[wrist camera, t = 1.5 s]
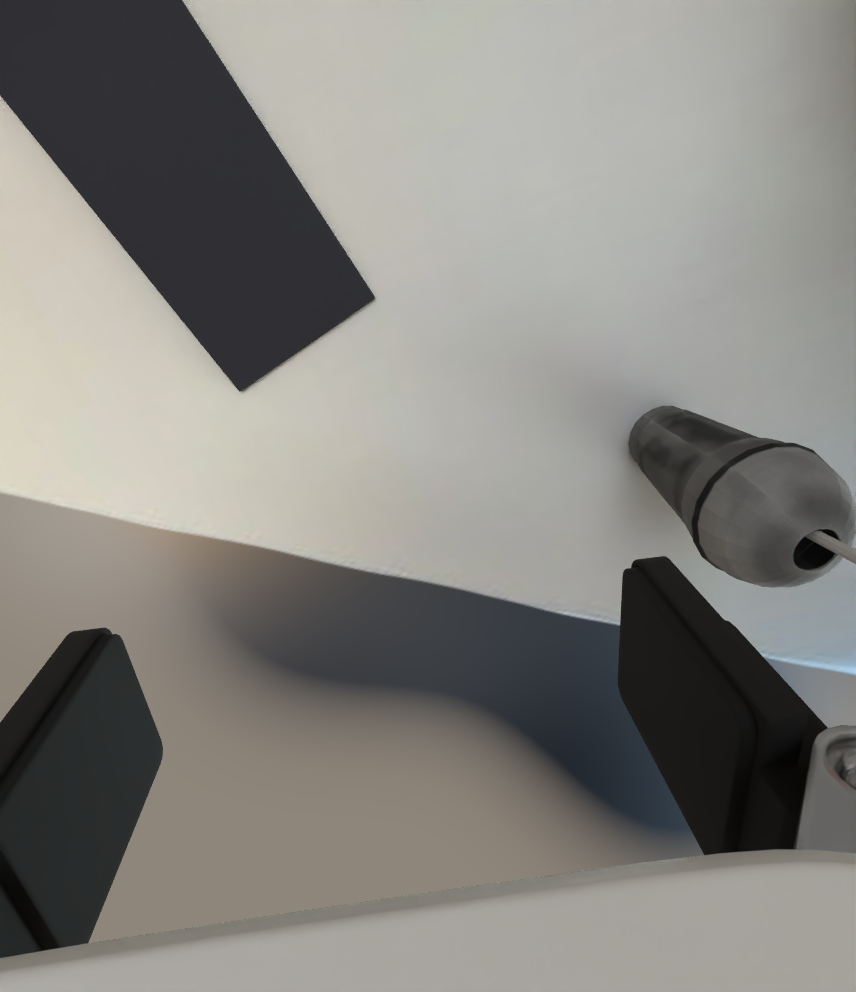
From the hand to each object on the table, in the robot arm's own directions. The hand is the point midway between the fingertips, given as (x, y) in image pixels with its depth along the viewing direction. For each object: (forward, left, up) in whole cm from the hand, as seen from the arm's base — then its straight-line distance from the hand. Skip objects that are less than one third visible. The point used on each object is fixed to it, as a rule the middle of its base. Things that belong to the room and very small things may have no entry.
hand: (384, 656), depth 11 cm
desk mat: (+3, -14, -28) cm, 31 cm away
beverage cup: (-13, +15, -28) cm, 34 cm away
